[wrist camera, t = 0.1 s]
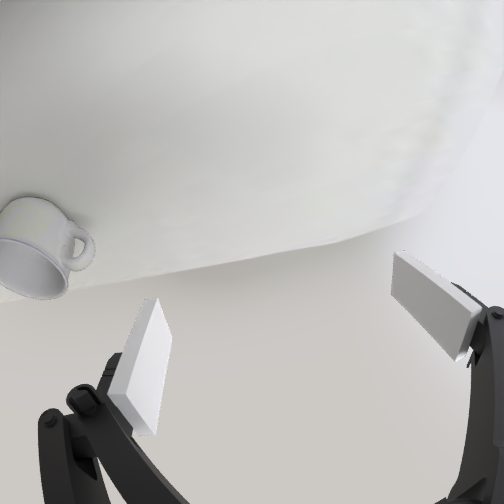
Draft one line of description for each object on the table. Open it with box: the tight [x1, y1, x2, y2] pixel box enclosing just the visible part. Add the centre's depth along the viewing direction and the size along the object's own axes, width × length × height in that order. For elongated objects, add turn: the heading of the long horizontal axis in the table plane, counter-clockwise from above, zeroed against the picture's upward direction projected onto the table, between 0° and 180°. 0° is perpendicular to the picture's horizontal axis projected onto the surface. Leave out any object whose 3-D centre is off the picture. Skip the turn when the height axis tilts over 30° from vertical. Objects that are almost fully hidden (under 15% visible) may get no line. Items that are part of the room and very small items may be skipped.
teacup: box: [0, 197, 96, 300], centre depth 23 cm, size 14×11×8 cm
